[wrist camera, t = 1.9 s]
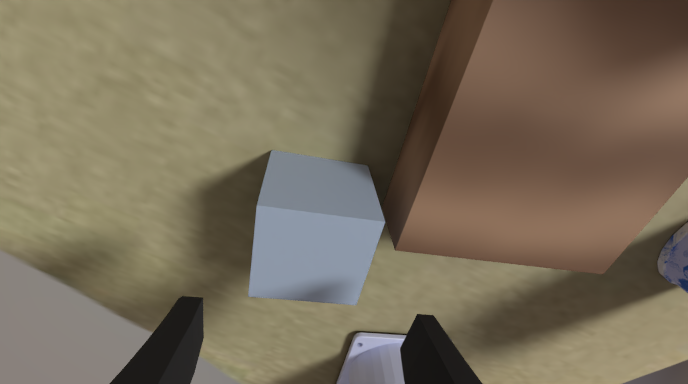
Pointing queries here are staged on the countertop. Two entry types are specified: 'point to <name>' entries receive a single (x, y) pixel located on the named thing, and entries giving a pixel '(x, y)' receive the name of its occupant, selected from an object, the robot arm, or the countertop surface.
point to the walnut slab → (544, 132)
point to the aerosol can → (675, 259)
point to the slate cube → (314, 230)
